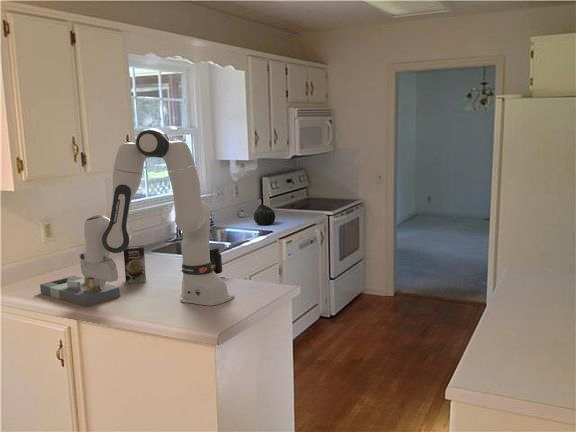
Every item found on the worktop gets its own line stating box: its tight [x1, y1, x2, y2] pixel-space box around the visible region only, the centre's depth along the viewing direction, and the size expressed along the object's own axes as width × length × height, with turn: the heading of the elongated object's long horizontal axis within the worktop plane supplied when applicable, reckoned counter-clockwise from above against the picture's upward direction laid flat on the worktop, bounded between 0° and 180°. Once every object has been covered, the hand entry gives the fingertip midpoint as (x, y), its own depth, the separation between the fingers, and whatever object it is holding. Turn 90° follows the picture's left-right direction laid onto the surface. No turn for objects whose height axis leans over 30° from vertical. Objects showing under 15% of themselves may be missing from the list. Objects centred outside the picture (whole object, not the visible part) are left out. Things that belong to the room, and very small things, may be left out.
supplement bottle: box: [209, 246, 223, 275], centre depth 256 cm, size 7×7×12 cm
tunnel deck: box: [39, 275, 121, 308], centre depth 228 cm, size 34×16×8 cm, turn 53°
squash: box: [253, 204, 276, 226], centre depth 380 cm, size 14×15×15 cm
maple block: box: [83, 277, 100, 292], centre depth 221 cm, size 5×5×5 cm
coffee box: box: [123, 244, 147, 285], centre depth 245 cm, size 9×6×16 cm
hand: (100, 289), depth 218 cm, fingers closed
